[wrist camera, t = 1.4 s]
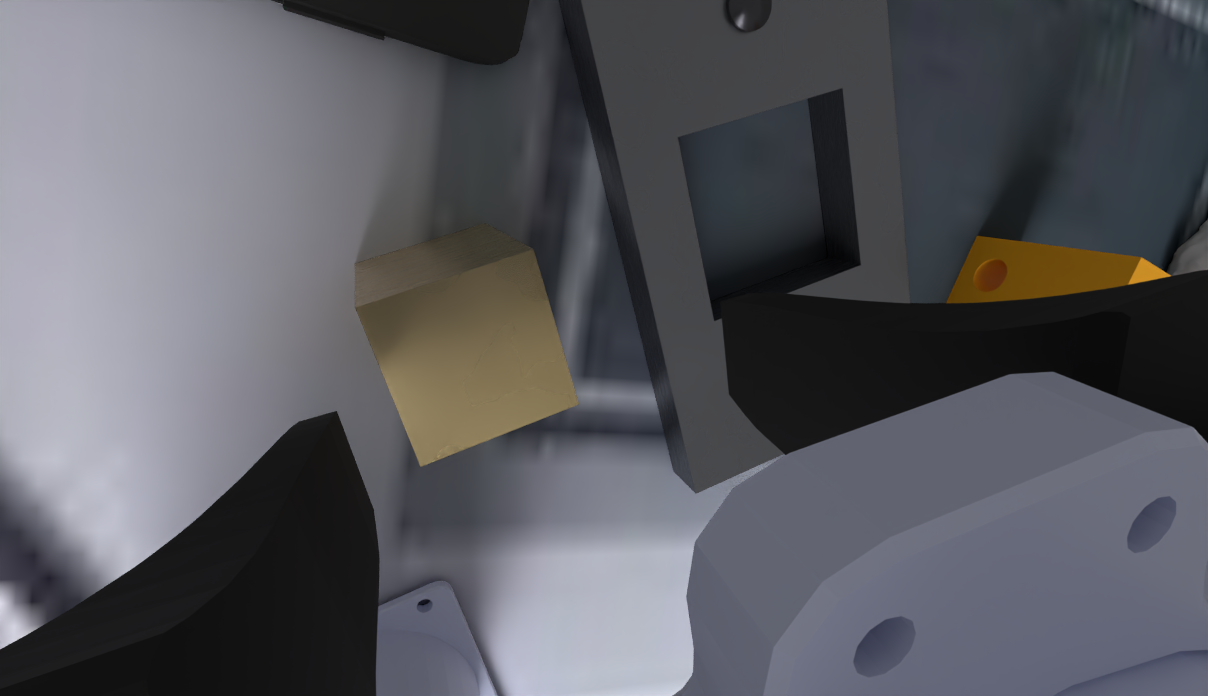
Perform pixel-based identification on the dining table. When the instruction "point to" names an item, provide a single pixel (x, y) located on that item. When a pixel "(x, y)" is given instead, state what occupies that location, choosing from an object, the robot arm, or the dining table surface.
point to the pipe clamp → (1042, 271)
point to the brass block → (463, 339)
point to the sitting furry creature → (1191, 254)
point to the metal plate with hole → (660, 194)
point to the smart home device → (430, 23)
